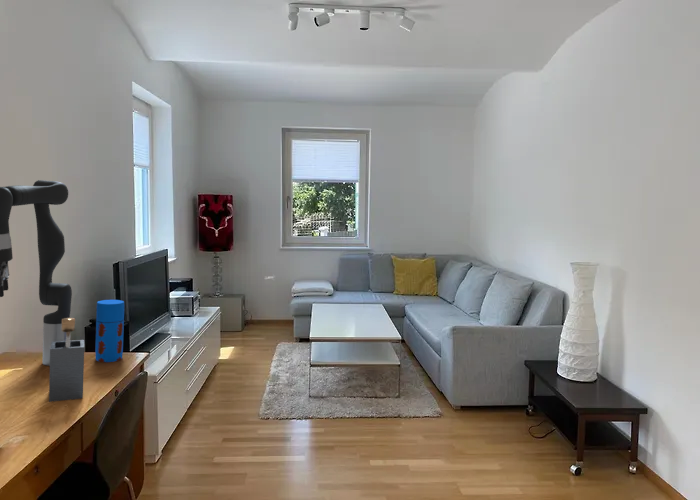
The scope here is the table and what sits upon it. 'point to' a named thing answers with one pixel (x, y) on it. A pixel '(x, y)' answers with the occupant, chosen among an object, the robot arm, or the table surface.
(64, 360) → the press tower
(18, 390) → the table surface
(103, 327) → the thermos
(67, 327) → the plunger
